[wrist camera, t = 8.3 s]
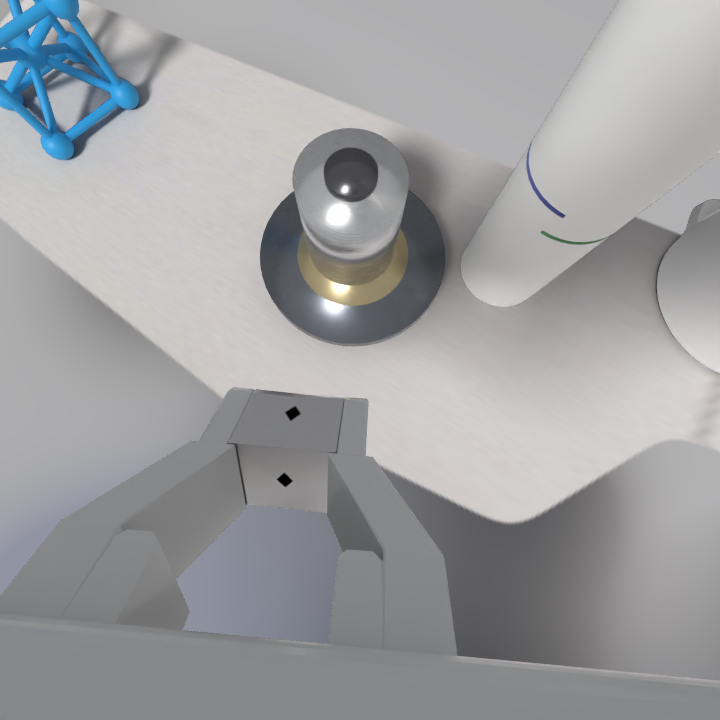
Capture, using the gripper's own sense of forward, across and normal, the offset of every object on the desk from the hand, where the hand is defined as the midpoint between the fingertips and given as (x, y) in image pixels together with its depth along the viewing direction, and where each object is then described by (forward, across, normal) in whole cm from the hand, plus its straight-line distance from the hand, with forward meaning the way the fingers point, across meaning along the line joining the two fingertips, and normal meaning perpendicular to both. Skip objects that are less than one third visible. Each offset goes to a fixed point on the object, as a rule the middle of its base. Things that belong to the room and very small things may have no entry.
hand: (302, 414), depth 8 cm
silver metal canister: (+24, 0, +3) cm, 24 cm away
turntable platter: (+24, 0, +4) cm, 24 cm away
